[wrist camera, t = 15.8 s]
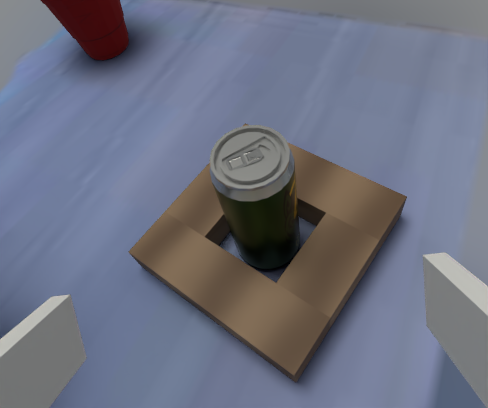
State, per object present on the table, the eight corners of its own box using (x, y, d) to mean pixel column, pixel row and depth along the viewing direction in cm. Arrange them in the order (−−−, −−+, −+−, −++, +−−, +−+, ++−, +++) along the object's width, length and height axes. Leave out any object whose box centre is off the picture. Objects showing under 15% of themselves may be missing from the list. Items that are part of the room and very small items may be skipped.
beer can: (250, 282, 32) (222, 205, 22) (229, 229, 35) (195, 141, 25) (311, 257, 33) (309, 170, 23) (284, 207, 36) (272, 111, 26)
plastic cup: (55, 53, 54) (-4, -38, 44) (119, 13, 57) (77, -81, 47) (93, 87, 49) (35, -7, 39) (161, 41, 52) (124, -57, 42)
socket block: (141, 266, 35) (128, 251, 32) (249, 143, 40) (245, 123, 38) (296, 382, 28) (294, 375, 25) (400, 215, 34) (406, 196, 31)
